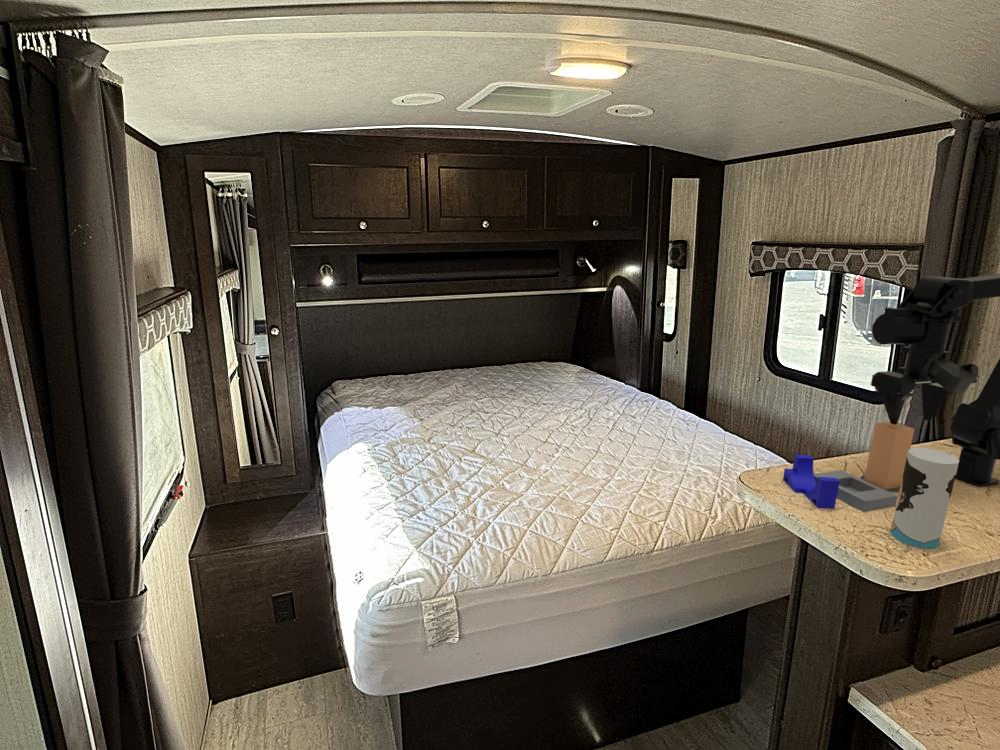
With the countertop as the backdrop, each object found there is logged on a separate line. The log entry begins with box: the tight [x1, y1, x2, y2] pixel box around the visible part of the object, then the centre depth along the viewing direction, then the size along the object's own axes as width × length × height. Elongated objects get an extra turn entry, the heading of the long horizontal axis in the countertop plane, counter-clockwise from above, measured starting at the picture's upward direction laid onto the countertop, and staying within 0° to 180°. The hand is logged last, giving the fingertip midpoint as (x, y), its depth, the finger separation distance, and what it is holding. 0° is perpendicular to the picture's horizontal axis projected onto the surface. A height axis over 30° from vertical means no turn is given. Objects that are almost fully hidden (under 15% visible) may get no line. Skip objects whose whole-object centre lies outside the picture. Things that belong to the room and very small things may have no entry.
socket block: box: [814, 469, 898, 512], centre depth 116 cm, size 8×12×2 cm, turn 20°
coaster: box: [859, 474, 900, 493], centre depth 122 cm, size 8×8×1 cm
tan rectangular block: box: [864, 421, 915, 489], centre depth 120 cm, size 5×5×12 cm
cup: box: [890, 447, 959, 550], centre depth 99 cm, size 7×7×15 cm
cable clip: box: [782, 454, 840, 510], centre depth 115 cm, size 12×4×6 cm, turn 177°
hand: (910, 422), depth 120 cm, fingers open, 9 cm apart
